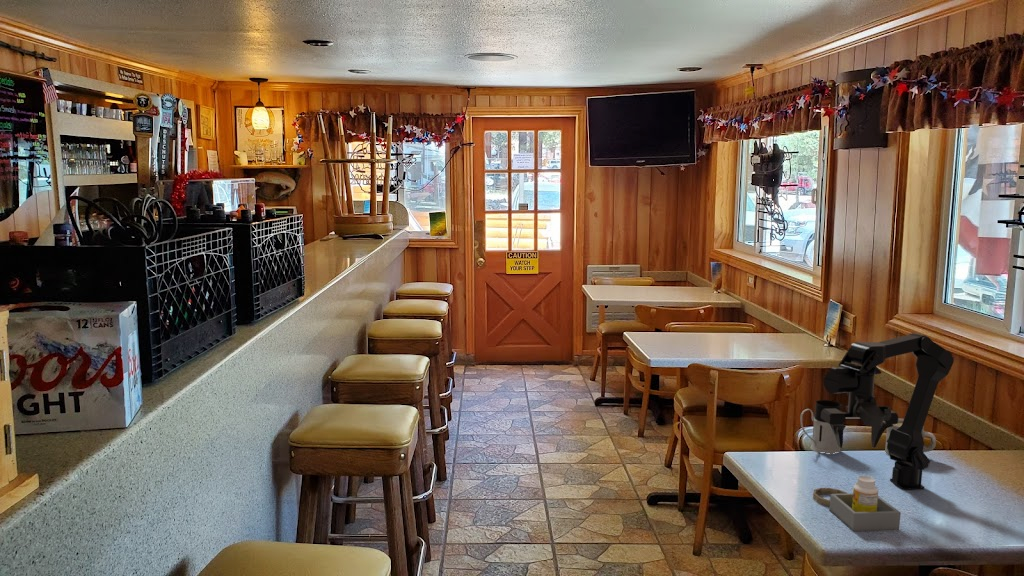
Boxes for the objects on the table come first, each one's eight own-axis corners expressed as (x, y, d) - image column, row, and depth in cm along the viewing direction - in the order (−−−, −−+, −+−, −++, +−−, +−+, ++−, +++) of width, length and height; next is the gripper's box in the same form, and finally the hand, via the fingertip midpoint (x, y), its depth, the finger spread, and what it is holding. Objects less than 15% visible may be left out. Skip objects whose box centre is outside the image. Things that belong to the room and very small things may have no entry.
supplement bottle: (853, 511, 192) (856, 472, 190) (877, 516, 188) (880, 477, 187) (849, 519, 187) (852, 479, 186) (873, 524, 184) (877, 484, 183)
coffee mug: (880, 454, 234) (883, 423, 232) (890, 446, 241) (893, 416, 239) (928, 465, 225) (931, 433, 223) (937, 457, 232) (940, 425, 231)
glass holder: (846, 453, 235) (850, 406, 233) (807, 457, 231) (811, 409, 229) (827, 443, 243) (830, 398, 241) (789, 447, 239) (792, 401, 237)
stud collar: (840, 492, 204) (840, 487, 204) (857, 507, 195) (858, 501, 195) (807, 493, 204) (807, 488, 203) (823, 507, 195) (823, 502, 194)
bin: (873, 509, 194) (874, 492, 193) (899, 530, 182) (900, 512, 182) (829, 510, 193) (830, 493, 192) (852, 531, 182) (854, 513, 181)
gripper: (842, 399, 191) (838, 458, 194) (913, 398, 193) (908, 457, 195) (821, 387, 202) (817, 443, 205) (888, 387, 204) (884, 442, 206)
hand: (857, 447), depth 202 cm, fingers open, 9 cm apart
